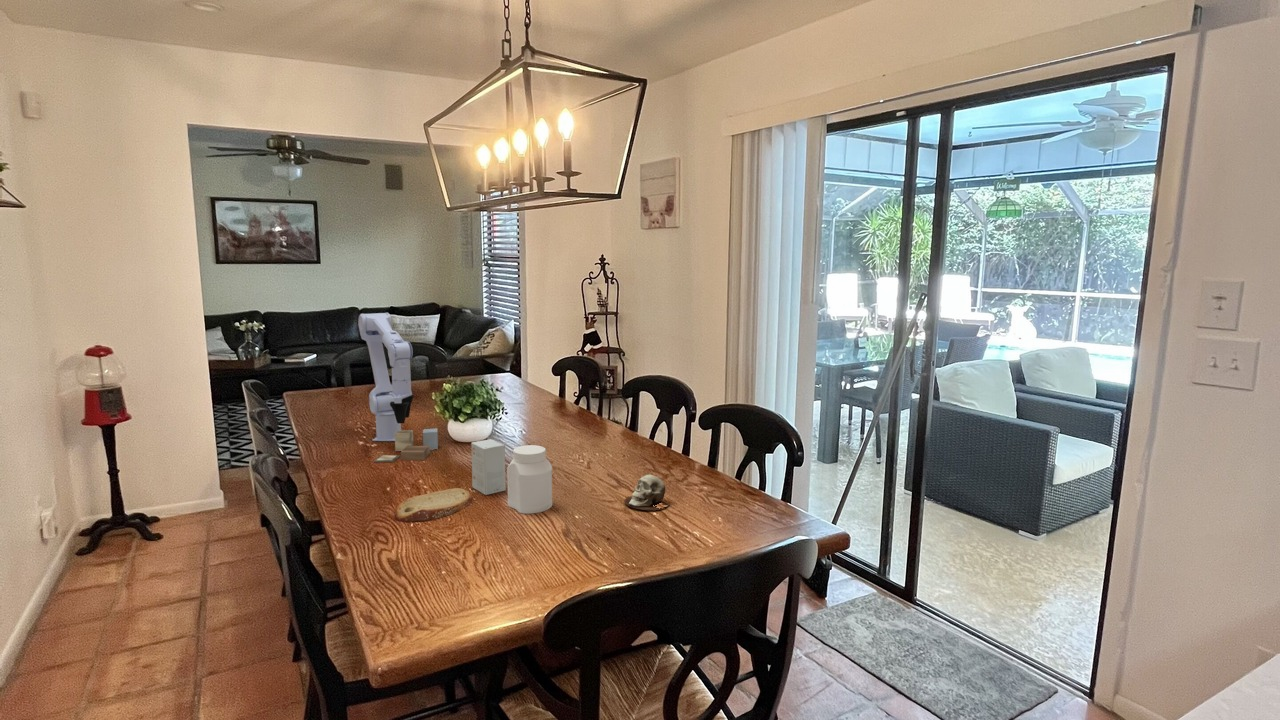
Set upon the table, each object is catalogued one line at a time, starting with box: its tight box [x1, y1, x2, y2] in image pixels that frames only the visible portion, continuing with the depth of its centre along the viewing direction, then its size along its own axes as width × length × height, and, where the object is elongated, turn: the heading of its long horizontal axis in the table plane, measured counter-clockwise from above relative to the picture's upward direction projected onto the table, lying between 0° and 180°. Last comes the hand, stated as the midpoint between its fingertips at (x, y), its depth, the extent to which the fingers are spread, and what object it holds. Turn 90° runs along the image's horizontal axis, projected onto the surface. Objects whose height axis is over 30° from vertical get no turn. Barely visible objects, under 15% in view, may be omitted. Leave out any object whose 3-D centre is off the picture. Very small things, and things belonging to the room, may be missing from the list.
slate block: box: [422, 428, 439, 451], centre depth 225 cm, size 4×4×6 cm
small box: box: [470, 438, 507, 496], centre depth 187 cm, size 8×6×13 cm
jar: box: [506, 444, 553, 515], centre depth 175 cm, size 12×10×15 cm
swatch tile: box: [373, 454, 401, 463], centre depth 212 cm, size 6×6×1 cm
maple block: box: [394, 429, 415, 452], centre depth 223 cm, size 4×4×6 cm
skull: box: [624, 474, 666, 511], centre depth 178 cm, size 12×10×10 cm
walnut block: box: [400, 445, 431, 461], centre depth 215 cm, size 7×7×3 cm
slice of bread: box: [394, 487, 473, 523], centre depth 173 cm, size 18×18×4 cm
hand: (403, 420), depth 222 cm, fingers open, 7 cm apart
